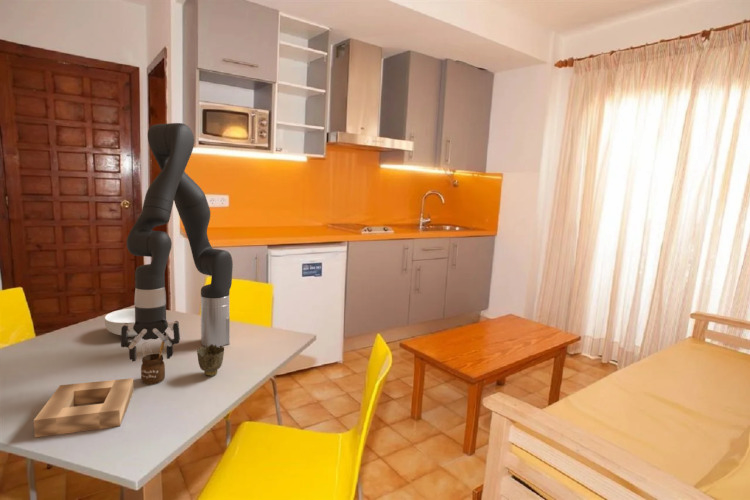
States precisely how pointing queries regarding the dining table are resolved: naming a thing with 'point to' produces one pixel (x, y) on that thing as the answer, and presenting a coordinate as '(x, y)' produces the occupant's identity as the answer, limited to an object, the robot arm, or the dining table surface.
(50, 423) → the oak socket block
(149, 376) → the utensil holder
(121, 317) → the cereal bowl
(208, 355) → the cup
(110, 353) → the dining table surface
